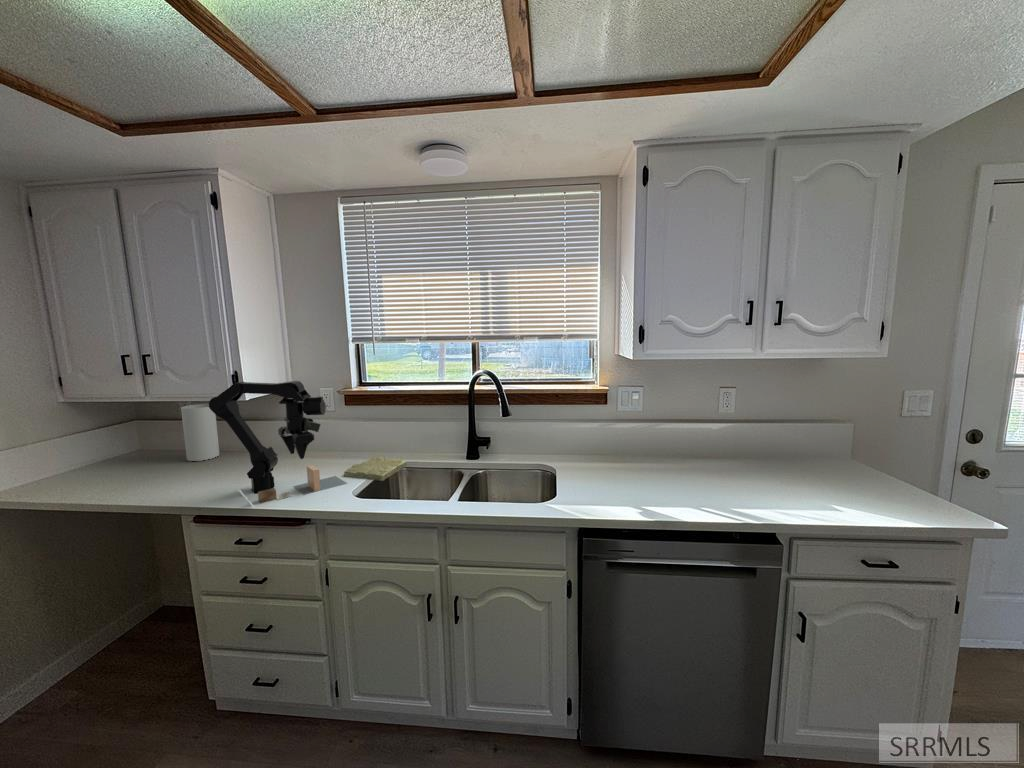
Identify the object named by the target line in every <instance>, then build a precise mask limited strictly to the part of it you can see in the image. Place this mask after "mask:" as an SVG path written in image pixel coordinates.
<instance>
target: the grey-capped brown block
mask: <svg viewBox="0 0 1024 768" xmlns="http://www.w3.org/2000/svg"><path fill="white" fill-rule="evenodd" d="M257 497H258V498H257V499H258V502H259V503H260V504H264V503H268V502H272V501H275V500H277V501H280V500H284V499H288V498H292V497H294V494H292V493H291V492H290V491H287V492H283V493H278V494H277V489H276V488H275V487H273V488H272V489H268V490H263V491H259V492H258V493H257Z"/></svg>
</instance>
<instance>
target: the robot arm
mask: <svg viewBox="0 0 1024 768" xmlns="http://www.w3.org/2000/svg"><path fill="white" fill-rule="evenodd" d="M244 394H253V395H254V394H257V395H259V394H260V395H261V394H262V395H275V396H279V397H282V399H281V400H280V401H278V404H279V405H284V404H285V417H284V422H286V425H285V426H281V427H279V428H278V431H277V433H278V435H279V436H280V438H281V440H282V442H283V444H284V445H285V446H286V448H287V450H288V452H289V454H291V455H292V454H293V455H294V454H295V450H296V453H297V455H298V458H299V459H300V460H303V459H304V458H305V455H306V451H307V448H308V446H309V445H310V443H312V442H313V441H315V434H313V433H312V432H311V431H313V432H315V433H318V432H319V431H320V428H321V424H322V423H319V422H316V421H314V419H313V418H309V417H305V416H304V414H305V415H306V416H325V413H326V408H327V405H326V402H325V400H324V397H323V396H311V395H310V393H309V392H308V391H307V390H306V389H305V386H304V384H303V383H302V381H300V380H293V381H292V380H291V381H284V382H277V383H276V382H275V383H274V382H273V383H272V382H251V381H250V382H247V381H238V382H234V383H232V385H230V386H229V387H228V388H227V389H225V390H224V391H222V392H221V393H220V394H218V395H217V396H215V397H212V398H210V400H209V401H208V404H209V408H210V410H211V411H212V412H213V413H214V414H215V415H216V417H218V418H220V419H221V420H223V421H225V422H226V423H227V425H228V426H229V427H230V429H231V430H232V431H233V433H234V434H235V435H236V437H237V438H238V440H239V441H240V443H241V444H242V445H243V447H244V448H245V449H246V450H247V452H248V453H249V457H250V458H249V459H250V463H251V465H252V467H251V469H249V471H248V472H247V473H246V475H247V478H248V479H250V480H251V482H250V483H251V488H250V491H251V492H252V493H253V494H254V495H258V492H259V491H263V490H268V489H272V488H275V477H274V476H273V473H272V472H273V471H274V467H276V466H277V465H278V462H279V458H278V454H277V453H276V452H275V450H274V449H273V447H272V446H270V447H268V448H267V447H266V446H264V445H263V444H262V443H261V442H260V440H259V438H258V437H257V435H255V433H254V432H253V430H252V429H251V428H250V426H249V425H248V423H247V422H246V421H245V420H244V418H243V417H242V415H241V414H240V409H239V405H238V400H240V399H241V397H242V396H243V395H244Z"/></svg>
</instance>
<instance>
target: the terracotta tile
mask: <svg viewBox="0 0 1024 768" xmlns="http://www.w3.org/2000/svg"><path fill="white" fill-rule="evenodd" d="M306 473H307V474H306V475H307V483H308V487H309V488H311V489H312V490H313V491H317V492H320V491H319V490H320V480H321V479H320V477H321V476H320V469H319V468H318V467H316V466H315V465H313V464H311V465H306Z"/></svg>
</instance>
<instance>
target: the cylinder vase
mask: <svg viewBox="0 0 1024 768" xmlns="http://www.w3.org/2000/svg"><path fill="white" fill-rule="evenodd" d="M180 409H181V410H180V411H181V418H182V419H181V421H182V429H183V439H184V446H185V448H184V449H185V454H186V455H185V457H186V460H187V461H188V462H192V461H197V462H204V461H203V460H205V461H209V460H208V459H210V460H212V458H213V459H215V457H216V458H218V457H219V456H220V447H219V445H220V444H219V436H218V427H217V415H216V414H214V413H213V412H212V411H211V410H210V408H209V403H200V404H198V403H197V404H189V405H185V406H182V407H180ZM217 456H218V457H217Z"/></svg>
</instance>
